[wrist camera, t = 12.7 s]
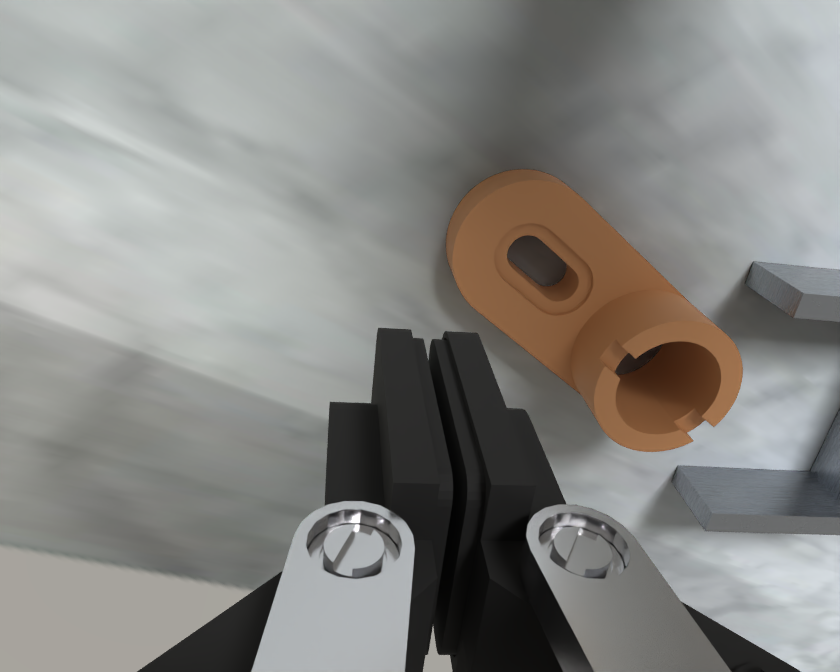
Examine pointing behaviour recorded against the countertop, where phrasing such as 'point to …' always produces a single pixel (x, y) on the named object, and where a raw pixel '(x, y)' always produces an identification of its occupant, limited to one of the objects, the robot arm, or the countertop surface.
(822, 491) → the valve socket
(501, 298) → the bracket
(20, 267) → the countertop surface
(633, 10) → the countertop surface
